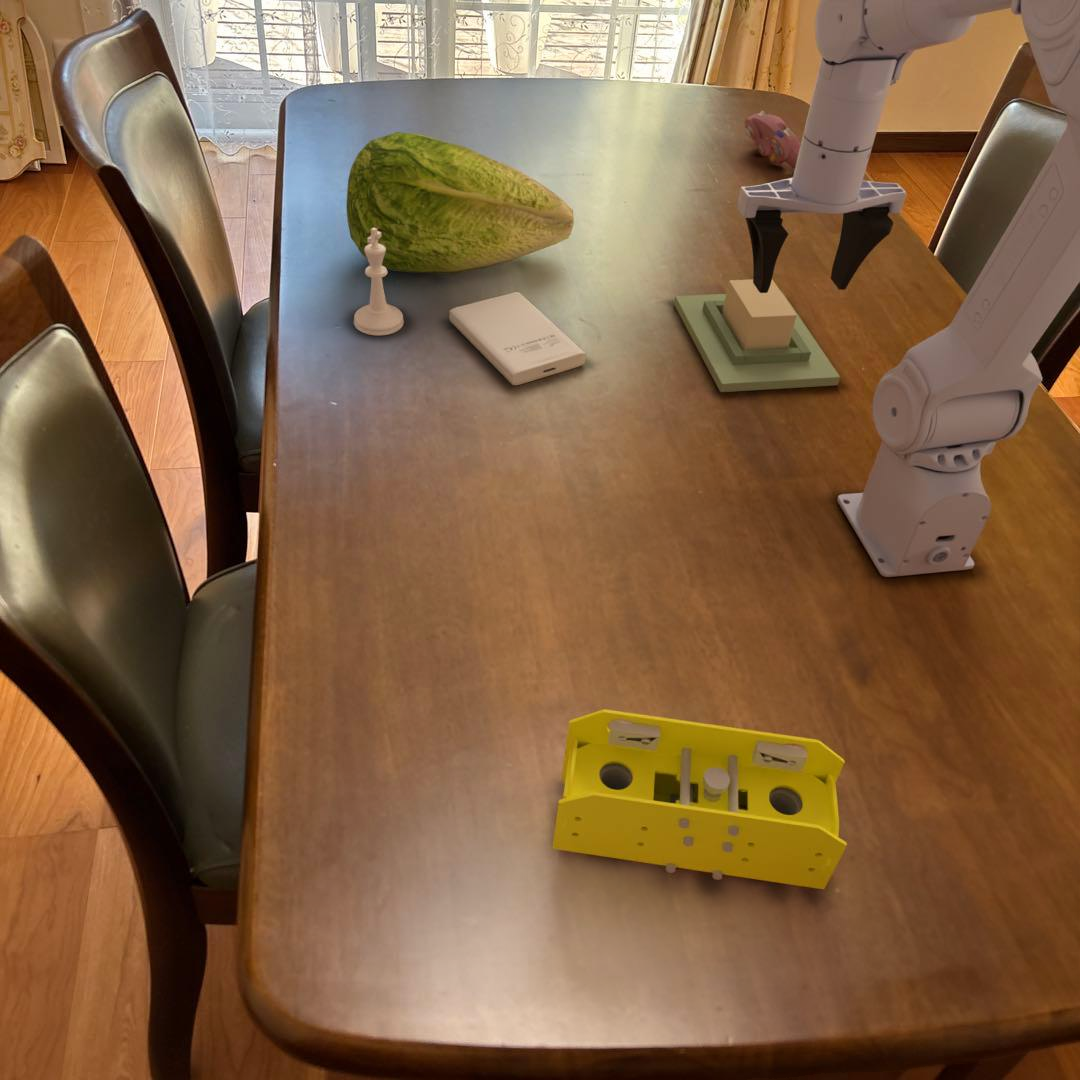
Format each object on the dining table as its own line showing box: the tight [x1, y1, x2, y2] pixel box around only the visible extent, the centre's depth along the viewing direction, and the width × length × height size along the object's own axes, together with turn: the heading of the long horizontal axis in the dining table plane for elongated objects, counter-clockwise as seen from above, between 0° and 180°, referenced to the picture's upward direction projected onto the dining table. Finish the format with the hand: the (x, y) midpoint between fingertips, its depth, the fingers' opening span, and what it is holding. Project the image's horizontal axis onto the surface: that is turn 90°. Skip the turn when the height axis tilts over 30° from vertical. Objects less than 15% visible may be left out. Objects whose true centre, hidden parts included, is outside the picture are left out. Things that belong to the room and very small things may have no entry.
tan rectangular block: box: [722, 278, 797, 351], centre depth 101 cm, size 7×5×4 cm, turn 11°
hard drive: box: [448, 291, 586, 386], centre depth 100 cm, size 2×8×12 cm
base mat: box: [673, 291, 841, 393], centre depth 103 cm, size 16×12×2 cm
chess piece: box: [353, 227, 405, 337], centre depth 99 cm, size 5×5×10 cm
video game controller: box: [744, 110, 801, 170], centre depth 135 cm, size 10×5×7 cm, turn 25°
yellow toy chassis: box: [551, 708, 848, 890], centre depth 59 cm, size 16×6×8 cm, turn 83°
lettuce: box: [346, 131, 575, 275], centre depth 108 cm, size 15×24×14 cm, turn 99°
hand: (799, 285), depth 94 cm, fingers open, 7 cm apart
